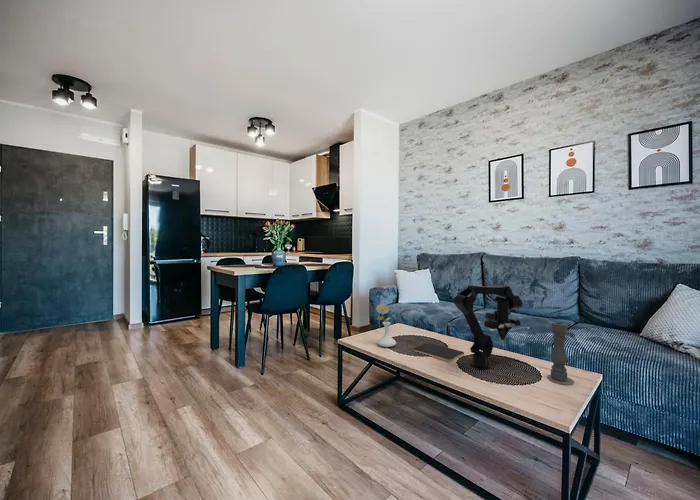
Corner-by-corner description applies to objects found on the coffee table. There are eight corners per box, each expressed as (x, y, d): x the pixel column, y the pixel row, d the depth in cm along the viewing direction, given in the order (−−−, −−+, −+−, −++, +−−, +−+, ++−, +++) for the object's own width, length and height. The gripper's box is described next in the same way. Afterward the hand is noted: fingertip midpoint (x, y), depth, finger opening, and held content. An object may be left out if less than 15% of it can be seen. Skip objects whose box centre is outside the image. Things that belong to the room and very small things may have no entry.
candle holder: (564, 383, 135) (564, 326, 135) (548, 378, 140) (548, 323, 140) (569, 379, 139) (569, 323, 139) (553, 374, 144) (554, 321, 144)
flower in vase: (399, 344, 190) (399, 303, 189) (391, 349, 180) (391, 307, 179) (380, 340, 197) (380, 301, 196) (371, 346, 187) (371, 304, 186)
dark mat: (563, 386, 133) (563, 385, 133) (541, 377, 142) (541, 376, 142) (579, 383, 136) (579, 382, 136) (557, 374, 146) (557, 373, 146)
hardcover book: (449, 363, 161) (449, 359, 161) (412, 352, 178) (412, 348, 177) (464, 355, 172) (464, 351, 172) (427, 345, 188) (427, 342, 188)
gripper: (504, 305, 170) (503, 333, 170) (476, 307, 164) (476, 337, 164) (521, 309, 159) (521, 339, 160) (492, 312, 153) (492, 343, 153)
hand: (502, 339), depth 159 cm, fingers closed
